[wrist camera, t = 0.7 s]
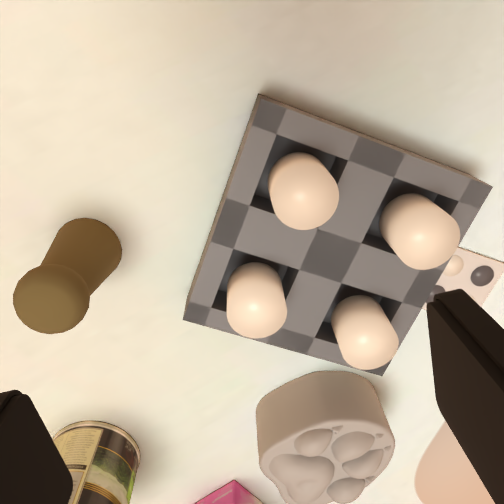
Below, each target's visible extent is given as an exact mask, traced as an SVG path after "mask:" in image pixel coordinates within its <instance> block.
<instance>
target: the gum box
mask: <svg viewBox="0 0 504 504" xmlns="http://www.w3.org/2000/svg"><path fill="white" fill-rule="evenodd" d="M196 504H263V503H262V502H261V501H260V500H258V499H257V498H256V497H255V496H253V495H252V494H251V493H249V492H248V491H247V490H246V489H244V488H243V487H242V486H241V485H240V484H238V483H237V482H236V481H235V480H233V481H232V482H230V483H228V484H227V485H225V486H224V487H222V488H220V489H218V490H216V491H215V492H213V493H211V494H210V495H208V496H206V497H205V498H203V499H202V500H200V501H199V502H197V503H196Z"/></svg>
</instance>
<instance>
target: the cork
mask: <svg viewBox="0 0 504 504" xmlns="http://www.w3.org/2000/svg"><path fill="white" fill-rule="evenodd" d="M121 254H122V248H121V244H120V240H119V239H118V237H117V236H116V234H115V232H114V231H113V230H112V229H110V228H109V227H108V226H107V225H106V224H104V223H102V222H100V221H98V220H94V219H89V218H80V219H74V220H72V221H70V222H68V223H66V224H65V225H64V226H63V227H62V228H61V229H60V230H59V231H58V233H57V235H56V237H55V239H54V241H53V243H52V244H51V246H50V248H49V250H48V252H47V254H46V256H45V258H44V260H43V261H42V263H41V265H40V266H39V267H36V268H34V269H32V270H30V271H28V272H27V273H26V274H25V275H24V276H23V277H22V278H21V279H20V280H19V281H18V283H17V286H16V288H15V291H14V294H13V305H14V308H15V311H16V313H17V316H18V317H19V318H20V320H21V321H22V322H23V323H24V324H25V325H27V326H28V327H29V328H31V329H33V330H35V331H38V332H40V333H46V334H55V333H63V332H65V331H68V330H70V329H72V328H73V327H75V326H76V325H77V324H78V323H79V322H80V321H81V320H83V318H84V316H85V314H86V312H87V310H88V308H89V300H90V295H91V294H92V293H93V292H94V291H95V290H96V289H97V288H98V287H99V286H100V285H101V283H102V282H103V281H104V280H105V279H106V278H107V277H108V276H109V275H110V274H111V273H112V272H113V271H114V270H115V269H116V267H117V266H118V264H119V262H120V260H121Z"/></svg>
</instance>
